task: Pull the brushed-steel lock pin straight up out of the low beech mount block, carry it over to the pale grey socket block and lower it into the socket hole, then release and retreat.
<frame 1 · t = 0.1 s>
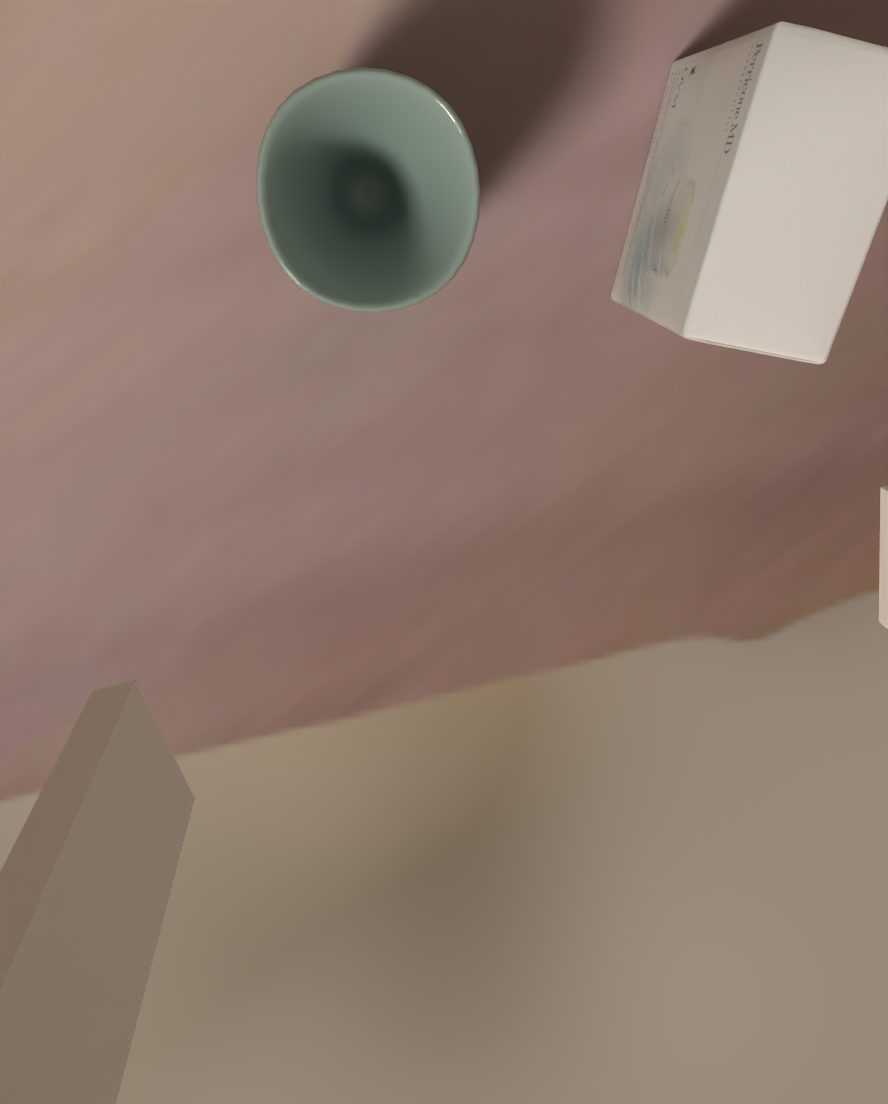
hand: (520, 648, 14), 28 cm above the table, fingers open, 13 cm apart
cup: (366, 192, 36), on the table
skincare box: (693, 199, 38), on the table
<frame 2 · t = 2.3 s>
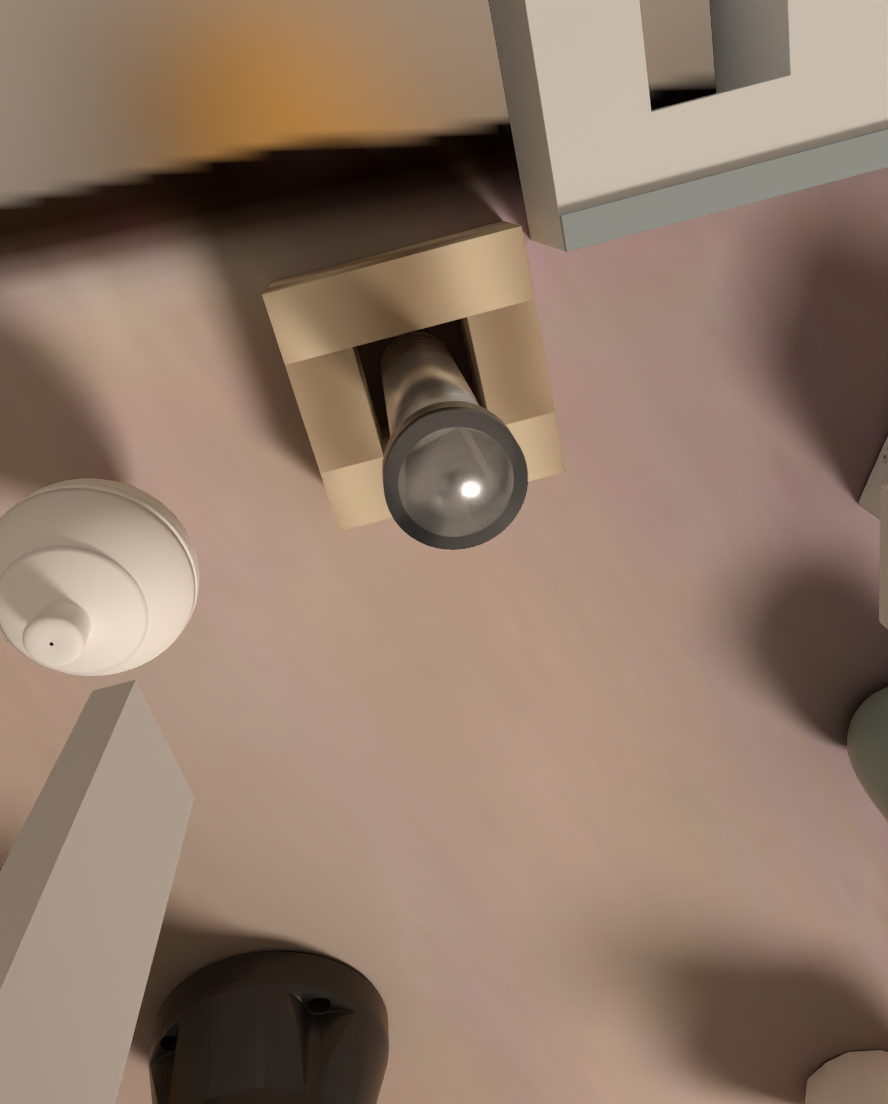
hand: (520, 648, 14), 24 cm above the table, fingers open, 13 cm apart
mount: (416, 367, 35), on the table
pin: (431, 412, 29), in the mount
cup: (886, 714, 47), on the table
socket: (651, 39, 31), on the table
spinning top: (141, 506, 37), on the table
vase: (857, 1076, 63), on the table
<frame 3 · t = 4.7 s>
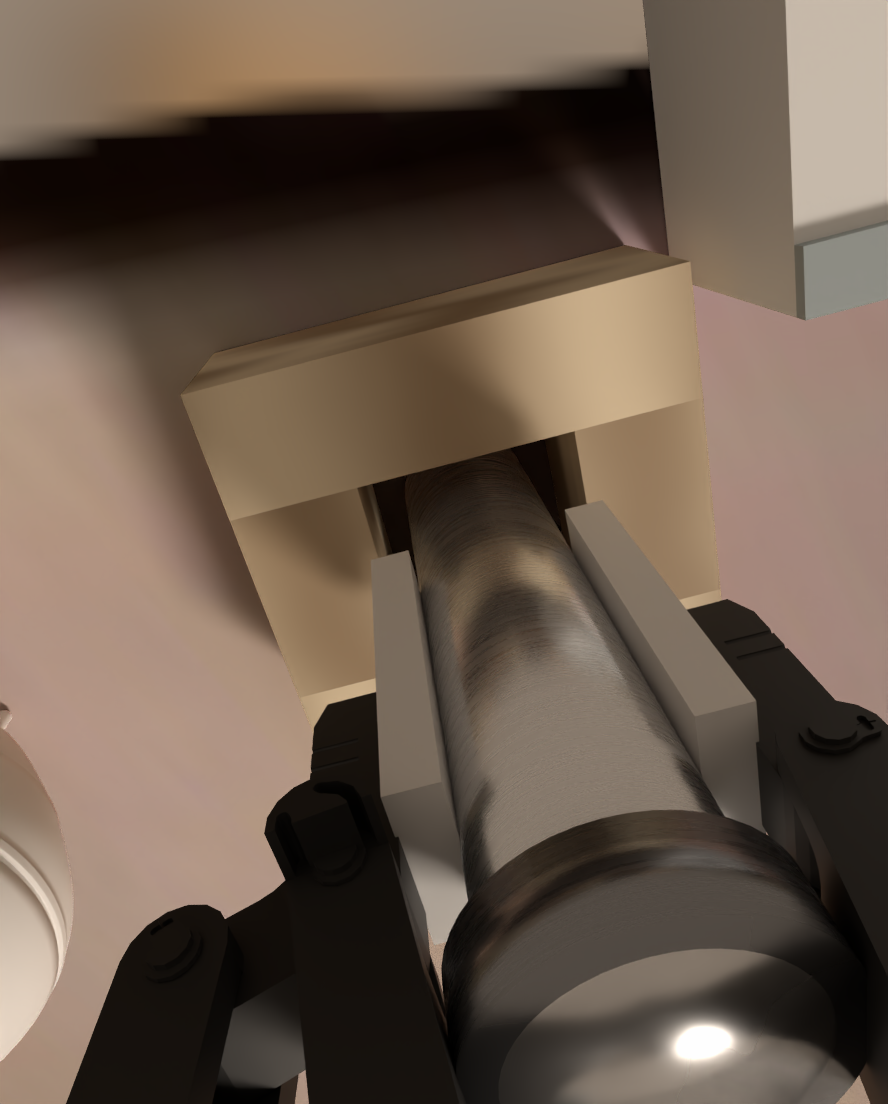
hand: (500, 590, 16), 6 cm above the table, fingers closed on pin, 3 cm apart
mount: (465, 491, 21), on the table
pin: (518, 641, 14), in the mount, touching gripper
spinning top: (9, 708, 22), on the table
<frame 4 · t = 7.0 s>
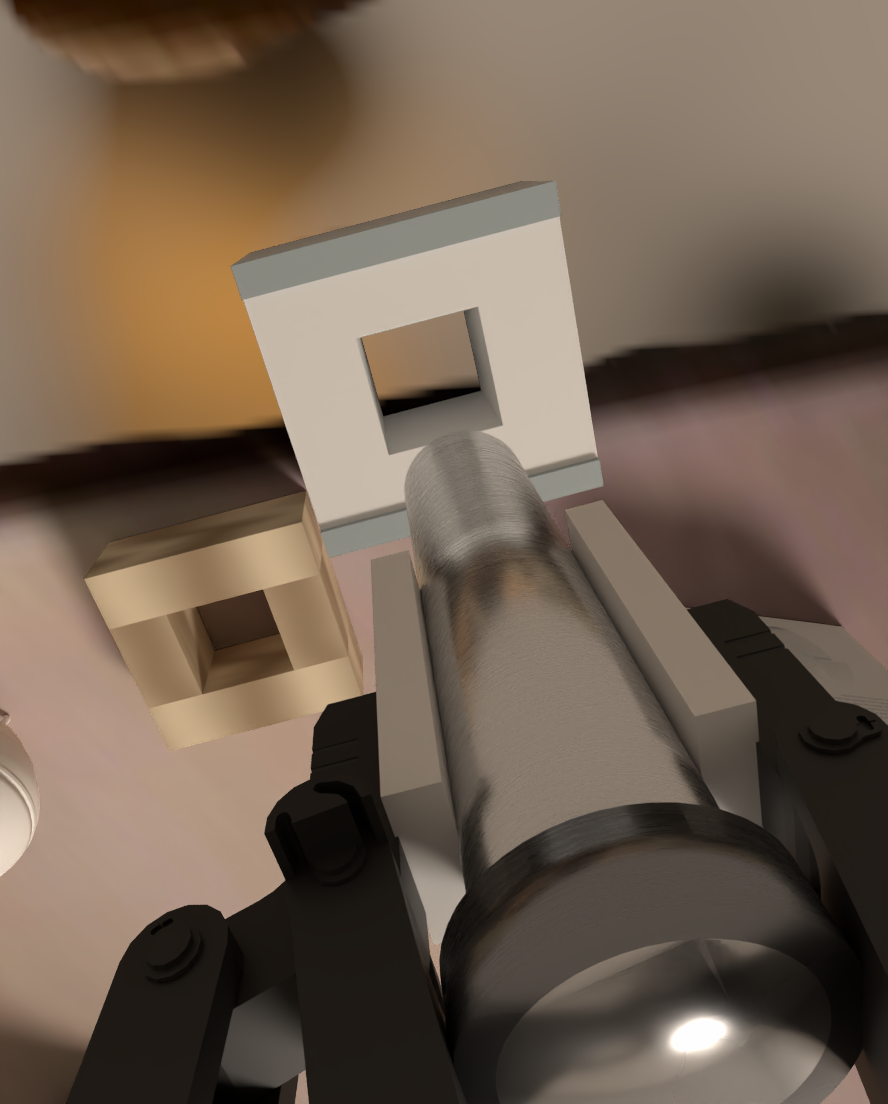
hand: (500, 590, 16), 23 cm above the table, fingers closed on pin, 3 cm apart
mount: (242, 602, 41), on the table
pin: (517, 638, 14), point 25 cm above the table, touching gripper
skincare box: (743, 661, 46), on the table
socket: (419, 354, 37), on the table
spinning top: (9, 714, 42), on the table
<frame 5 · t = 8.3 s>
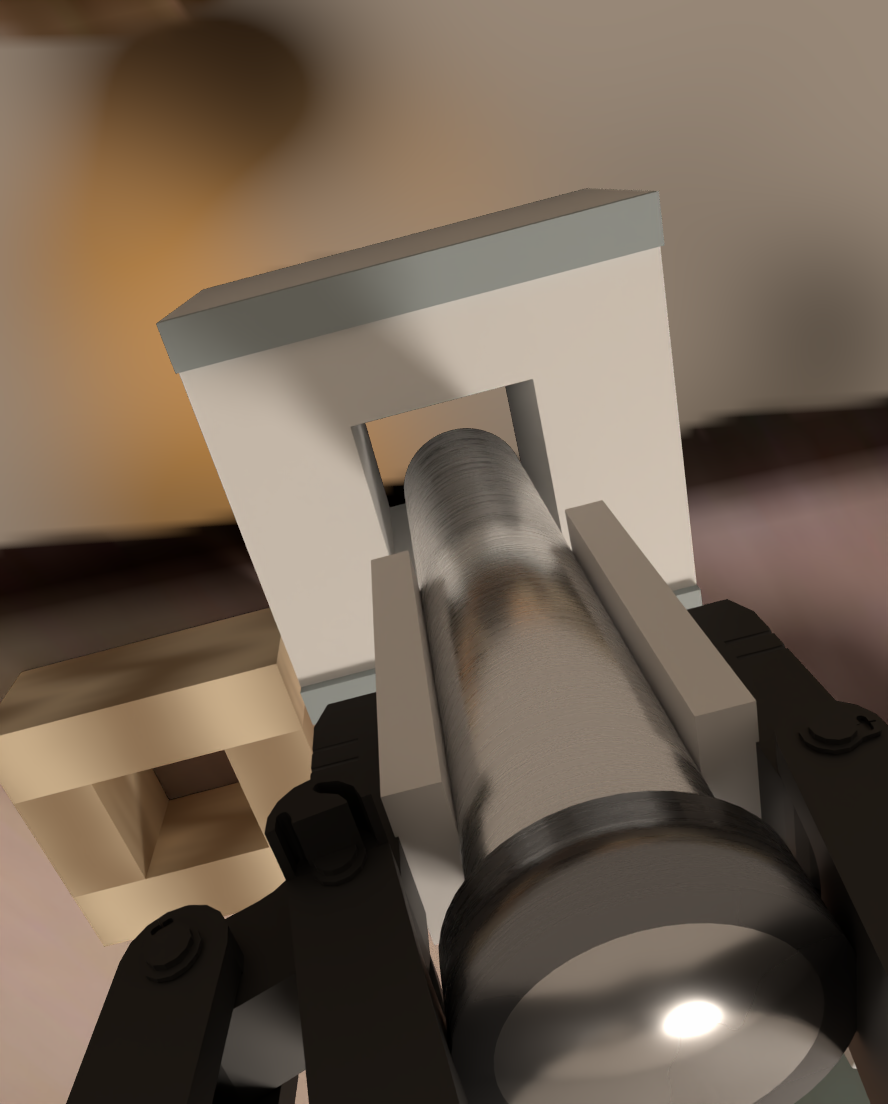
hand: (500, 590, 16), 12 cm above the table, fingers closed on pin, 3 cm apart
mount: (203, 742, 31), on the table
pin: (515, 633, 14), point 14 cm above the table, touching gripper
cup: (778, 1020, 43), on the table
socket: (440, 425, 27), on the table
when the fingers open (8 cm above the table, at t = 9.3 s): pin drops 2 cm, resting in socket.
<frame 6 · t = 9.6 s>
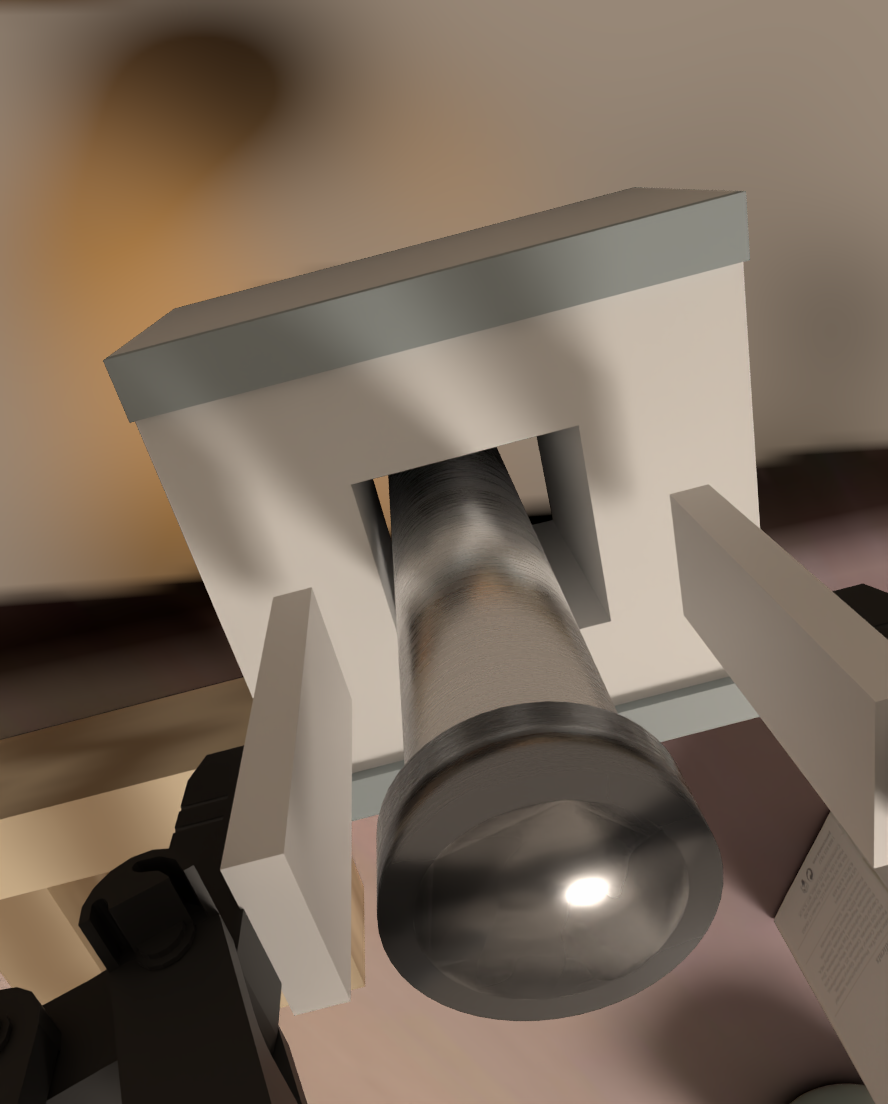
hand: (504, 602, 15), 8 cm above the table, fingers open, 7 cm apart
mount: (182, 822, 27), on the table
pin: (475, 594, 16), in the socket
socket: (456, 466, 23), on the table
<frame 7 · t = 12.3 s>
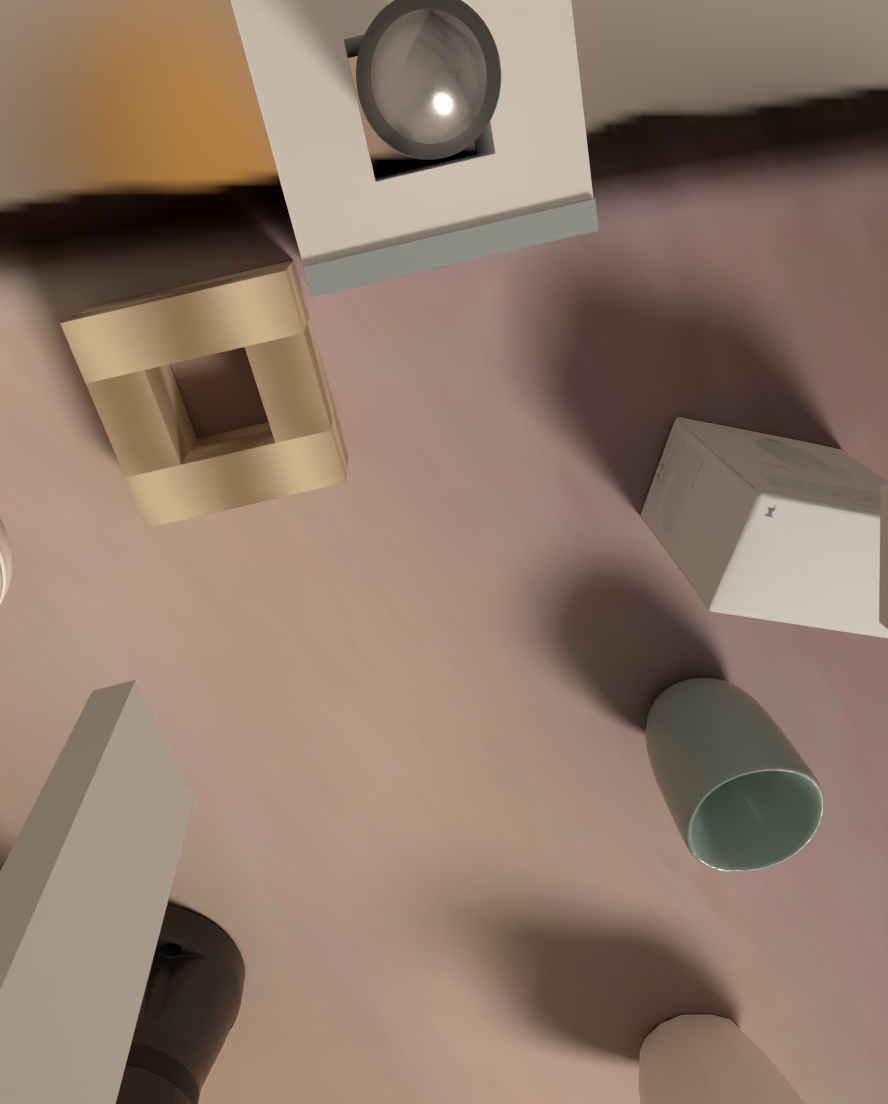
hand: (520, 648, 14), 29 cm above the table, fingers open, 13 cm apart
mount: (225, 385, 40), on the table
pin: (414, 97, 29), in the socket
cup: (687, 706, 52), on the table
skincare box: (738, 484, 45), on the table
socket: (413, 107, 35), on the table
vase: (692, 1038, 68), on the table
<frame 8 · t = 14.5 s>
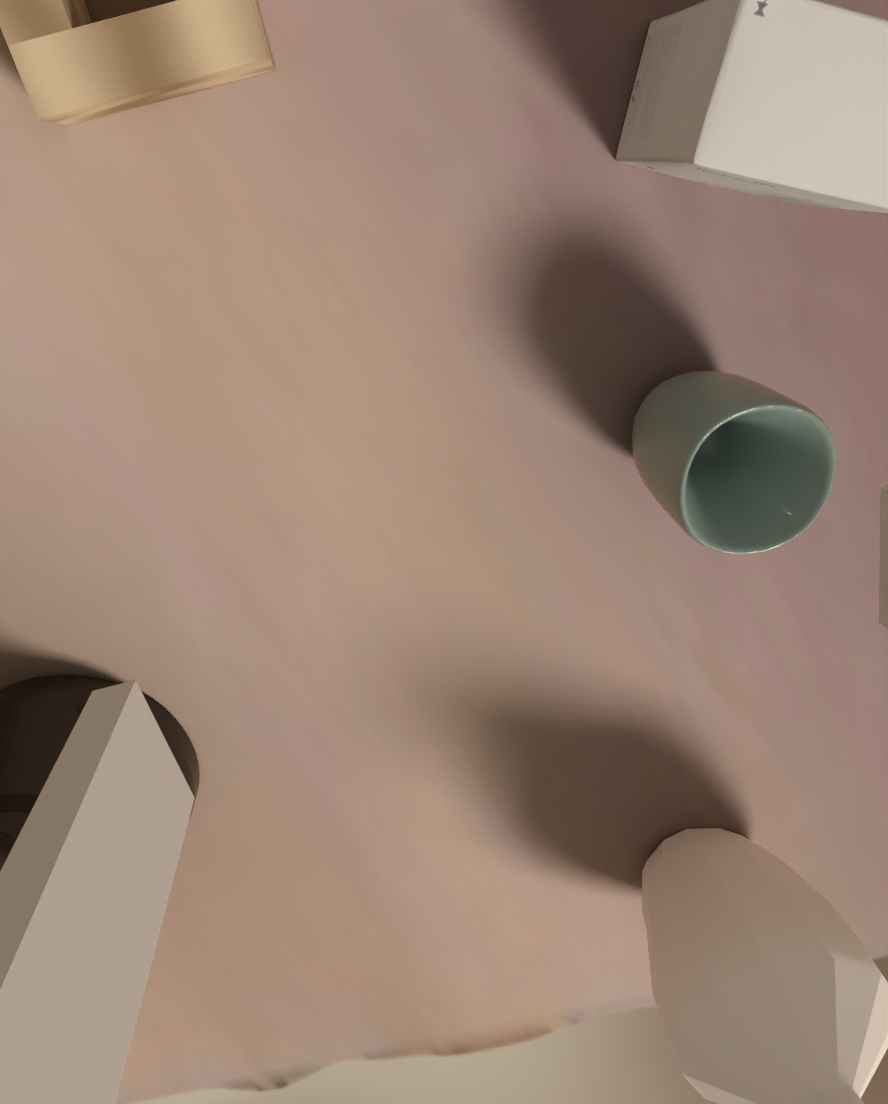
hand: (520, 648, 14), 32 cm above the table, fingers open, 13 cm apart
cup: (678, 422, 46), on the table
skincare box: (725, 121, 40), on the table
vase: (700, 860, 62), on the table
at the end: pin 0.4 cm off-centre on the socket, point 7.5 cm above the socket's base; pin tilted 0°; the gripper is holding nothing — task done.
